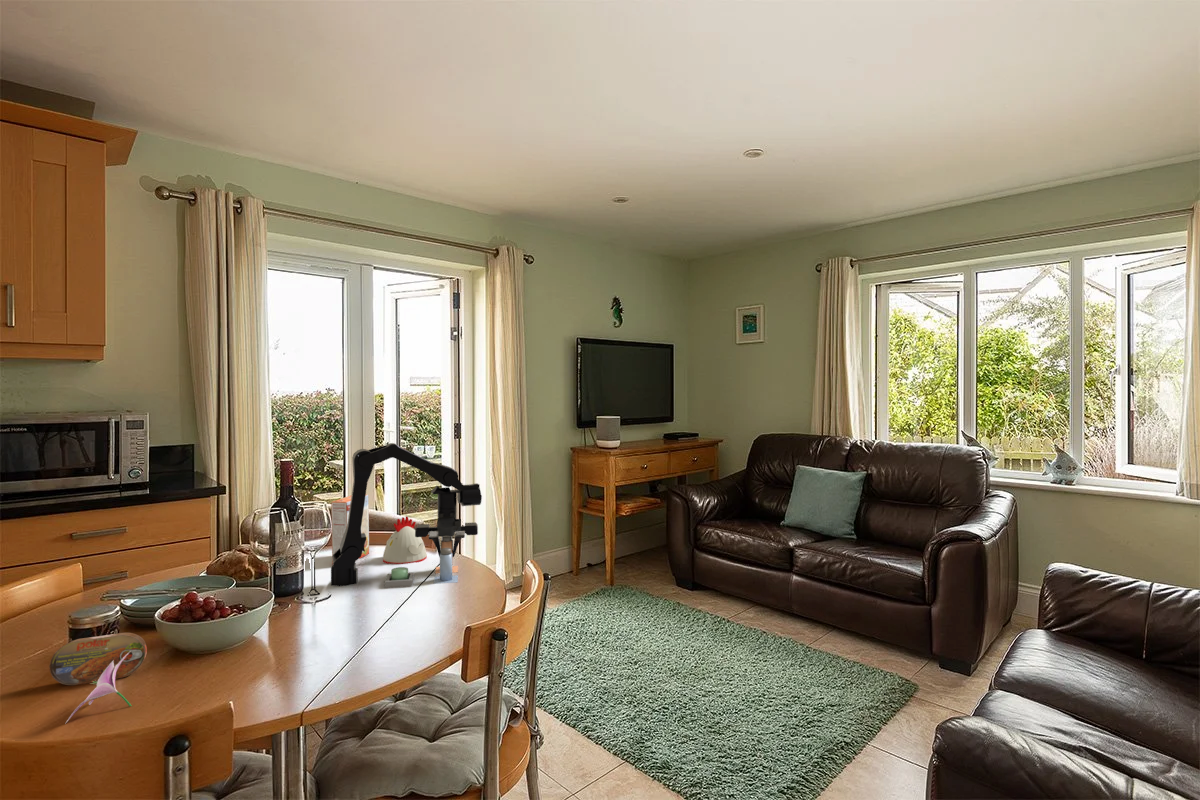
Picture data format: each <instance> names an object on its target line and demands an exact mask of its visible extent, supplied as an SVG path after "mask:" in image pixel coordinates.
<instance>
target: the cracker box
mask: <svg viewBox="0 0 1200 800" xmlns="http://www.w3.org/2000/svg"><path fill="white" fill-rule="evenodd" d="M351 496H352V494H351V495H349V496H345V497H342V498H340V499H336V500H333V501H331V502H330V503H331V504H330V505H331V511H330V512H331V556H332V555H333V554H334V553H335V552H336V551H337V550H338V549H339V548H340V544H341V541H342V538H343V535H344V533H345V530H346V528H347V524H348V517H349V510H350V503H351ZM369 511H370V510H369V494H366V496H365V503H364V510H363V518H362V525H361V533H365V535H366V542H365V545H364V549H365V552H364V551H362V555H361V557H360V558H359V559H361V558H364V557H365V556H367V555H369V554H370V527H369V526H370V521H369V519H370V517H369ZM359 559H358V560H359ZM331 563H332V565H333V559H332V558H331Z"/></svg>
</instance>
